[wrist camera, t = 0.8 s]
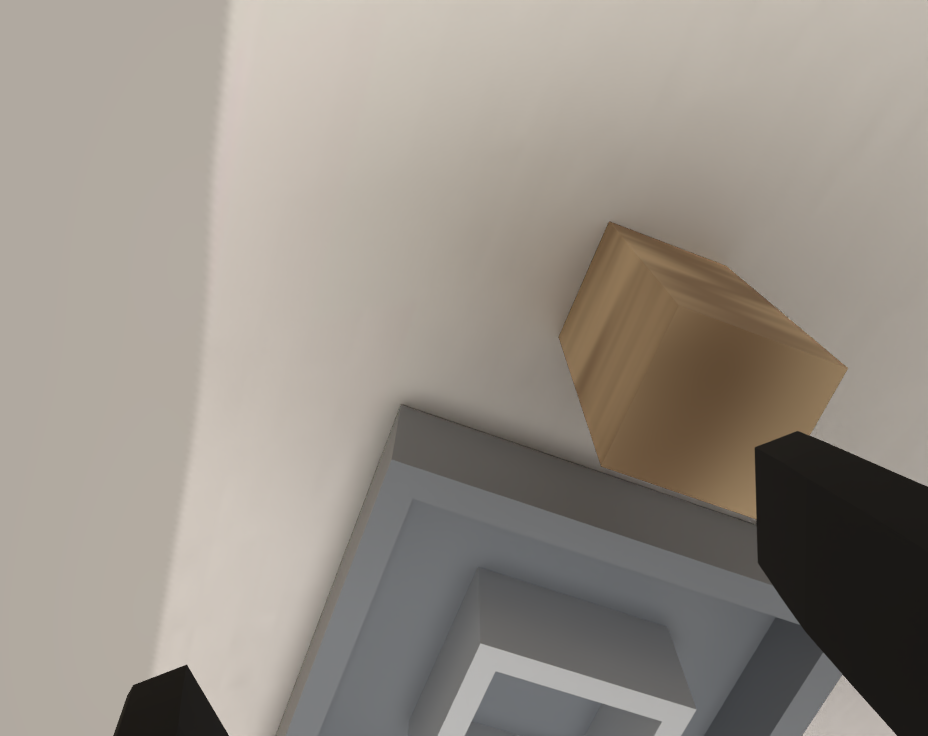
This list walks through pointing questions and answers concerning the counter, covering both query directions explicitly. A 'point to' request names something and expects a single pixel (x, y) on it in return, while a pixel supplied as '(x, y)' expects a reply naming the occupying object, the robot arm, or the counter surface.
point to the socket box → (546, 607)
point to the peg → (688, 369)
